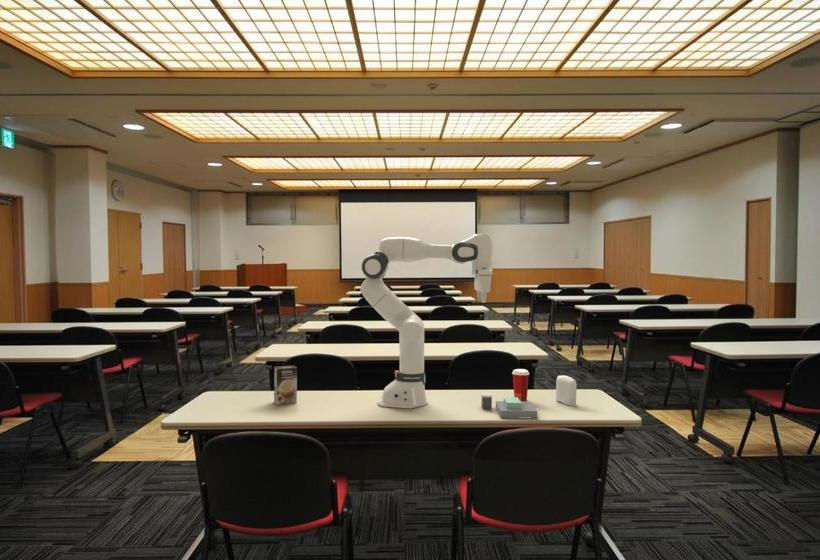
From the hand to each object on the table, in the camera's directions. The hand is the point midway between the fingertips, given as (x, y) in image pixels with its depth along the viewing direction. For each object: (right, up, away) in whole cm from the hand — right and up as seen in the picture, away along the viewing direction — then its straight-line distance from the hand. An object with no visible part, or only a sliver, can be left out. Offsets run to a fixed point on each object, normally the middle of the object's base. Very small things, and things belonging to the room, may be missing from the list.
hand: (481, 301), depth 222 cm
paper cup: (+19, -46, +8) cm, 51 cm away
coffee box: (-88, -46, +3) cm, 100 cm away
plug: (+2, -46, -4) cm, 47 cm away
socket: (+13, -47, -11) cm, 50 cm away
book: (+39, -47, +4) cm, 61 cm away
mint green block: (+11, -44, -11) cm, 46 cm away
